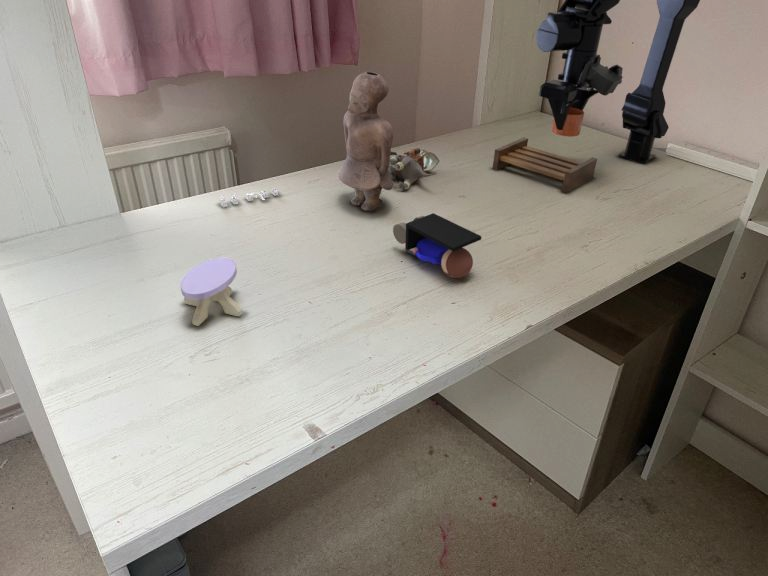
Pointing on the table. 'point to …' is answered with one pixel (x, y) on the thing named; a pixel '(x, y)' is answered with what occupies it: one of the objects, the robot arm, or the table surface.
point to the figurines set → (248, 197)
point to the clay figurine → (367, 142)
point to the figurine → (411, 165)
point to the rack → (545, 163)
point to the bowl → (570, 123)
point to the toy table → (210, 287)
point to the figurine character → (438, 243)
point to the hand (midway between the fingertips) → (566, 126)
